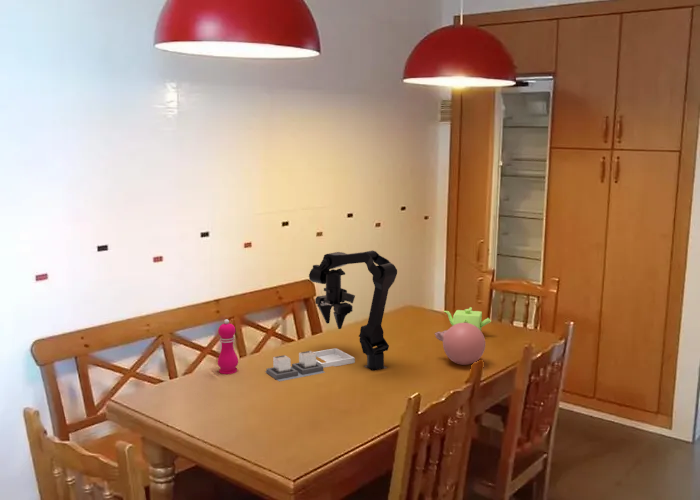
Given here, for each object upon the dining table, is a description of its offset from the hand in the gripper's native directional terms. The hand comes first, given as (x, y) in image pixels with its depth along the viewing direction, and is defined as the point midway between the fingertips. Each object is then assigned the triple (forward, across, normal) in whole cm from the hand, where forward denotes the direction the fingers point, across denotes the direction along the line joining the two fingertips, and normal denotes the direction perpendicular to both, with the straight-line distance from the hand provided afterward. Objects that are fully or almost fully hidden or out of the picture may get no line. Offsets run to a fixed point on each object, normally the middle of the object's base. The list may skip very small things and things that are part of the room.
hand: (333, 326), depth 280 cm
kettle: (+12, -3, -62) cm, 63 cm away
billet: (+11, -11, +27) cm, 31 cm away
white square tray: (+12, -5, +5) cm, 14 cm away
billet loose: (+11, -11, +17) cm, 23 cm away
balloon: (+12, -30, -36) cm, 48 cm away
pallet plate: (+12, -11, +22) cm, 27 cm away
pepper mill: (+12, +2, +42) cm, 44 cm away
